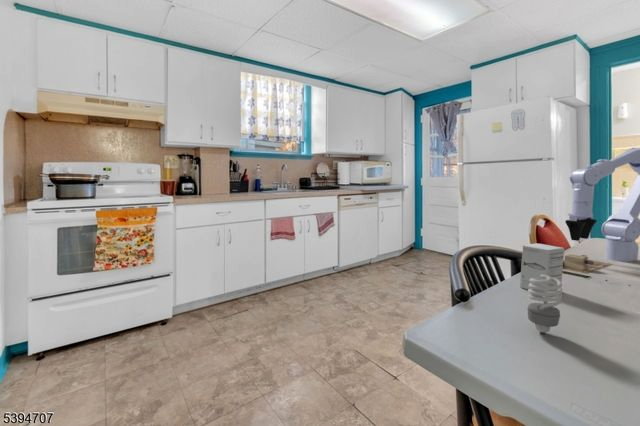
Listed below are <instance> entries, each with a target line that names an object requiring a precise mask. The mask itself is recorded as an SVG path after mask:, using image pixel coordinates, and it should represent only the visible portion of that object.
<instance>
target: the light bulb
mask: <svg viewBox="0 0 640 426" xmlns="http://www.w3.org/2000/svg"><path fill="white" fill-rule="evenodd" d="M540 277H541V278H543V279H546V280H543V279H538V278H531V279H530V280H529V281H530V282H532V283H530V284H529V285H528V286H529V287H530V288H533V289H527V292H528V293H529V294H528V297H529V299H530V300H533V301H538V302H532V303H529V304H528V305H527V318H528V320H529V321H530V322H531V323H533V324H534V329H535V330H536V331H538V332H539V333H541V334H546V333H549V332H550V331H551V327H557V326H558V325H559V322H560V317H561V311H560V309H558V308H557V306H559V305H560V304H561V303H562V298H563V294H562V293H563V288H562V287H563V283H562V282H561V281H559V280H558V279H556V278H553V277H550V276H546V275H540ZM551 281H554V282H556V283H557V284H555V283H553V282H551ZM535 283H536V284H535ZM542 284H548V285H551V286H546V285H542ZM556 289H558V290H556ZM544 290H549V291H552V292H547V291H544ZM541 302H543V303H541Z"/></svg>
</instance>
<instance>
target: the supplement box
mask: <svg viewBox="0 0 640 426" xmlns="http://www.w3.org/2000/svg"><path fill="white" fill-rule="evenodd" d="M564 259H565V247H560V246H554V245H549V244H543V243H537V242H536V243H530V244H523V245H522V255H521V268H520V280H519V281H520V282H519V288H520V287H521V288H522V289H525V290H528V289H533V288H530V287H529V286H528V285H529V284H530V283H532V282H530V281H529V280H530V279H531V278H538V279H543V278H541V277H540V275H546V276H550V277H553V278H556V279H558V280H559V281H561V283H562V280H563V279H562V278H563V273H562V271H564V269H563V260H564ZM543 280H546V279H543ZM551 282H553V283H555V284H557V283H556V282H554V281H551ZM535 284H536V283H535ZM542 285H546V286H551V285H548V284H542ZM556 290H558V289H556ZM544 291H547V292H552V291H549V290H544Z"/></svg>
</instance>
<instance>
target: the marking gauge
mask: <svg viewBox="0 0 640 426" xmlns="http://www.w3.org/2000/svg"><path fill="white" fill-rule="evenodd" d="M564 260H565V263H564V267H567V268H572V269H577V270H585V269H587V264H590V265H593V263H594V262H593V261H594V260H592V261H588V260H589V257H588V256H587V257H585V256H581V255H578V254H574V253H573V254H572V253H569V254H566V255H565V254H564Z"/></svg>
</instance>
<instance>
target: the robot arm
mask: <svg viewBox="0 0 640 426" xmlns="http://www.w3.org/2000/svg"><path fill="white" fill-rule="evenodd" d="M627 164H628V165H629V166H630V168H632V170H633V172H635V173H637V177H636V179H635V180H634V183H633V184H632V186H631V188H630V189H629V192H628V193H627V195H626V197H625V198H624V201H623V202H622V205H621V207H620V209H619V210H618V212H616V213H614V214H612V215H609V216H608V218H607V220H605V221H604V222H603V223H602V225H601V229H600V230H601V233H602V235H603V236H604V238H605V239H606V241H605V253H604V254H605V255H604V258H605V259H606V260H610V261H615V262H626V263H629V262H632V261H633V262H634V261H638V258H639V257H638V256H639V245H638V243H637V242H636V240H637V239H639V237H640V218H639V216H640V147H631V148H629V149H626V150H625V151H624V152H622V153H620V154H618V155H617V156H615V157H612V158H611V159H603V158H602V159H598V160H596V162H595V163H593V164H587V165H586V166H585V168H579V169H576V170H574V171H573V172H572V173H571V175H570V176H569V180H570V183H571V186H572V187H571V188H572V189H573V193H572V205H571V212H569V213H567V216H569V218H568V219H566V220H565V224H566V225H567V229H568V231H569V235H570V239H571V241H577V242H579V241H580V239H585V240H588V239H589V236H590V235H591V231H592V228H593V227H594V226H595V224H596V223H597V222H598V221H597V220H598V219H594V213H593V205H594V193H595V192H594V191H595V185H597V184H598V183H599V181H600V180H601V179H603V178H605V177H607V176H609V175H612V174H613V173H614V172H615V171H616V169H618V168H620V167H622V166H624V165H627Z"/></svg>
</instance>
